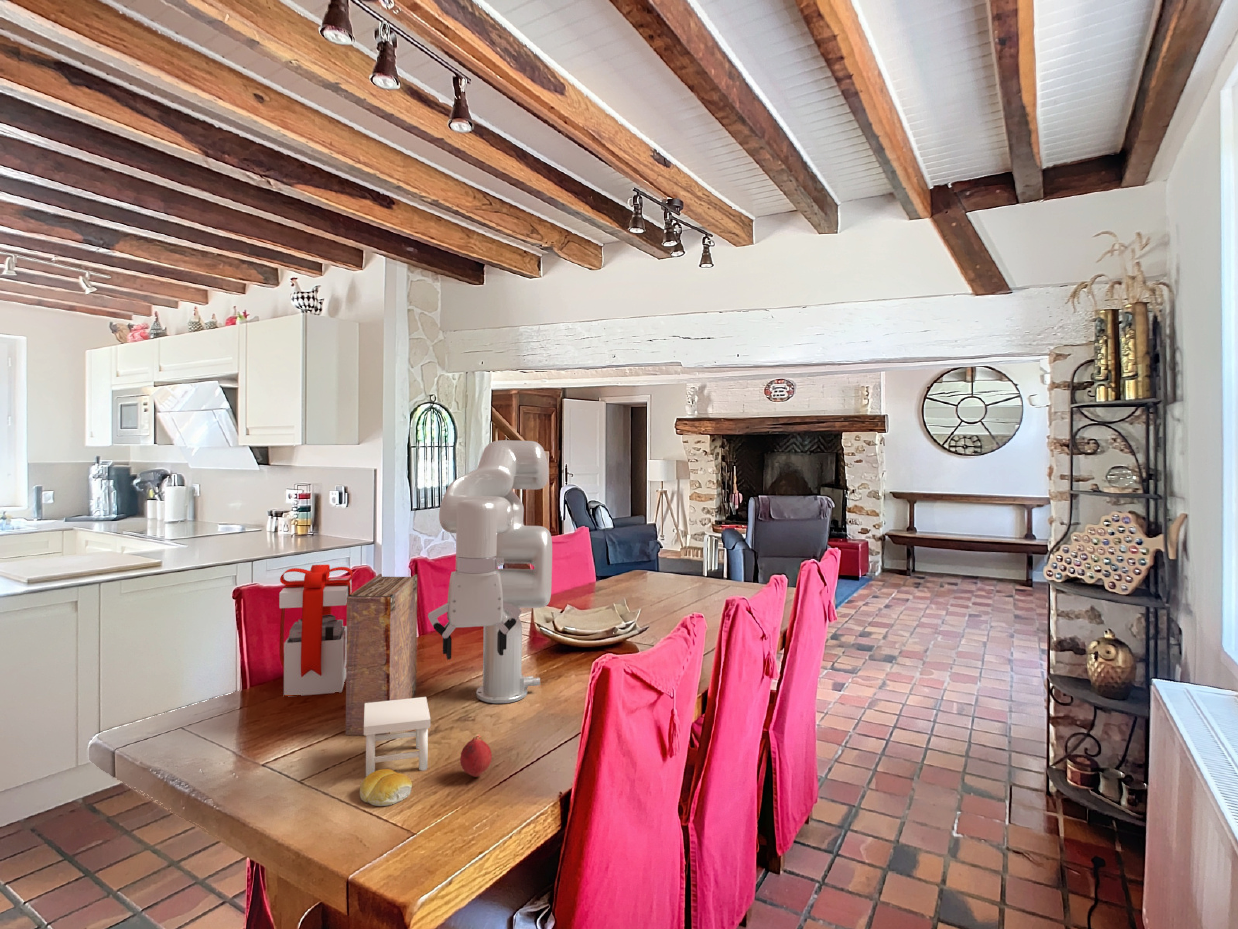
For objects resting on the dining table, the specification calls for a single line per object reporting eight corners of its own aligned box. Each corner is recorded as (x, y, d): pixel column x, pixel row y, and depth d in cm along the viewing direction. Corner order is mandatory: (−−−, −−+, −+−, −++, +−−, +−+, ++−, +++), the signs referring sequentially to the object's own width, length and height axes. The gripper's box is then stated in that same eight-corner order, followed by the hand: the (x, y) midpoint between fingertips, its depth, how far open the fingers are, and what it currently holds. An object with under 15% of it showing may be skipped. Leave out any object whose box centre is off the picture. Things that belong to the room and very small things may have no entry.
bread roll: (386, 779, 128) (387, 758, 128) (419, 793, 123) (419, 771, 123) (348, 797, 121) (348, 775, 121) (381, 813, 116) (381, 790, 116)
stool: (425, 744, 143) (426, 696, 142) (429, 770, 131) (430, 719, 131) (364, 751, 138) (364, 703, 138) (363, 779, 127) (363, 727, 127)
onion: (476, 787, 125) (476, 744, 125) (453, 778, 128) (454, 736, 128) (497, 774, 130) (498, 733, 130) (475, 766, 133) (475, 726, 133)
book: (379, 692, 171) (380, 573, 170) (416, 692, 172) (417, 573, 171) (345, 736, 146) (346, 596, 145) (389, 735, 146) (390, 596, 145)
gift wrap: (273, 700, 164) (273, 576, 163) (286, 676, 181) (286, 564, 180) (349, 694, 169) (350, 574, 168) (355, 671, 185) (356, 562, 184)
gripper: (518, 560, 135) (516, 646, 135) (427, 563, 129) (426, 653, 130) (525, 567, 128) (523, 657, 128) (429, 570, 122) (428, 665, 123)
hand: (474, 655), depth 129 cm, fingers open, 9 cm apart
